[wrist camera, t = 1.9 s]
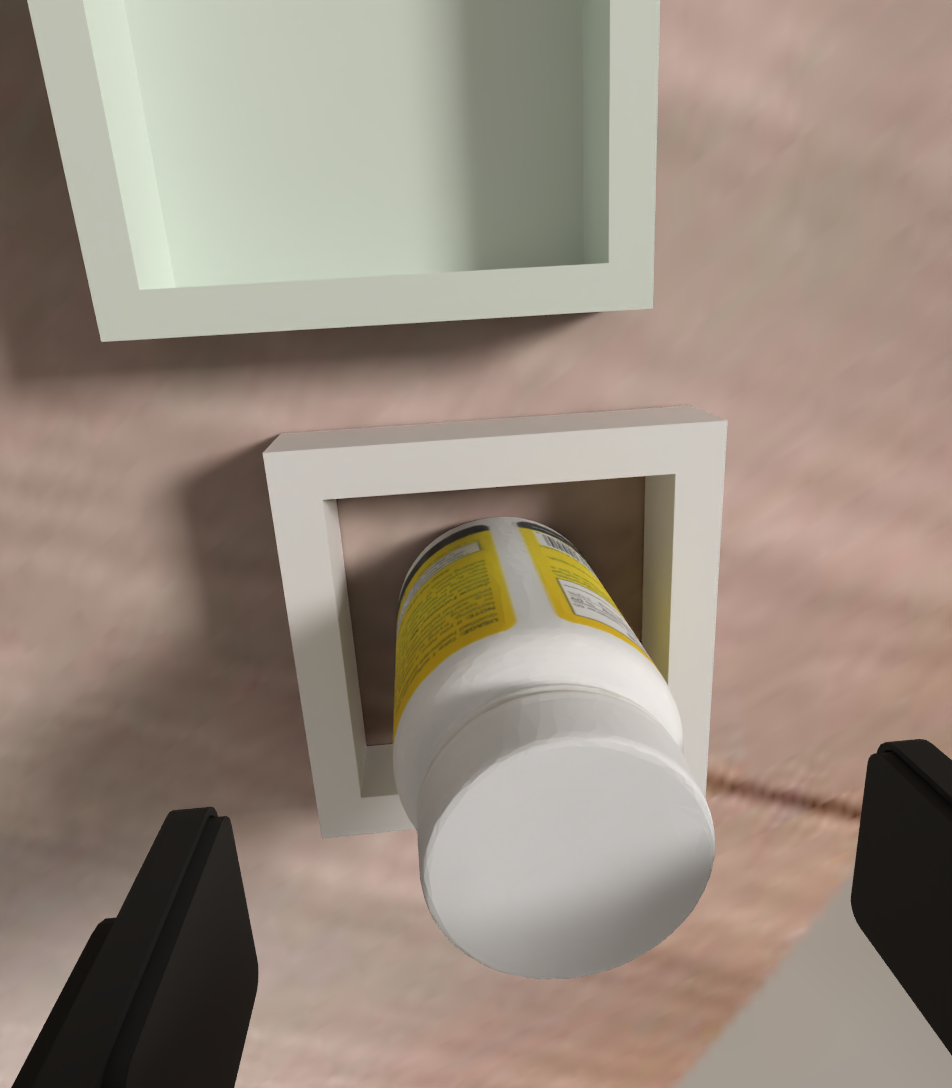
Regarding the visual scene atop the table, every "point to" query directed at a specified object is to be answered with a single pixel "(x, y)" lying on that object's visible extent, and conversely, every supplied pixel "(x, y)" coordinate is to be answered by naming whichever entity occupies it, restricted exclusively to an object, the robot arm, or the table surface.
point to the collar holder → (482, 462)
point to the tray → (354, 159)
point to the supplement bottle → (540, 758)
